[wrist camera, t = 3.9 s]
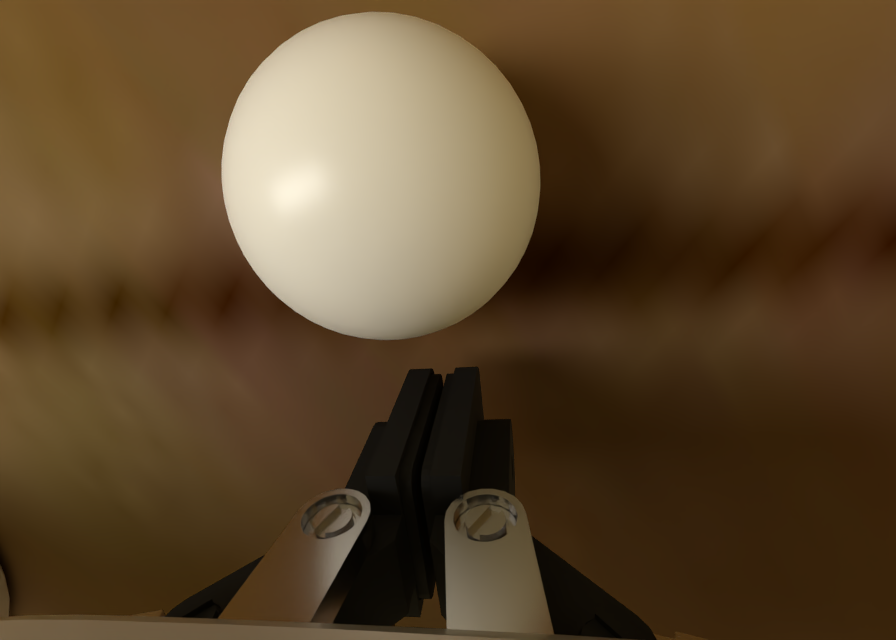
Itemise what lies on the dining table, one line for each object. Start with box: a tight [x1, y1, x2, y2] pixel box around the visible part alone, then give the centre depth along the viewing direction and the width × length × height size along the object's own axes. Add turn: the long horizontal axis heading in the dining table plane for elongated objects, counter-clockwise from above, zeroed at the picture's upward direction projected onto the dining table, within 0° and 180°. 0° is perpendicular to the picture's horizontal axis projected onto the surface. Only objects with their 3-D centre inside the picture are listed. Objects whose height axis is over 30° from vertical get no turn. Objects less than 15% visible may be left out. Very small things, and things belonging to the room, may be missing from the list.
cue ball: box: [222, 12, 540, 340], centre depth 9 cm, size 6×6×6 cm
